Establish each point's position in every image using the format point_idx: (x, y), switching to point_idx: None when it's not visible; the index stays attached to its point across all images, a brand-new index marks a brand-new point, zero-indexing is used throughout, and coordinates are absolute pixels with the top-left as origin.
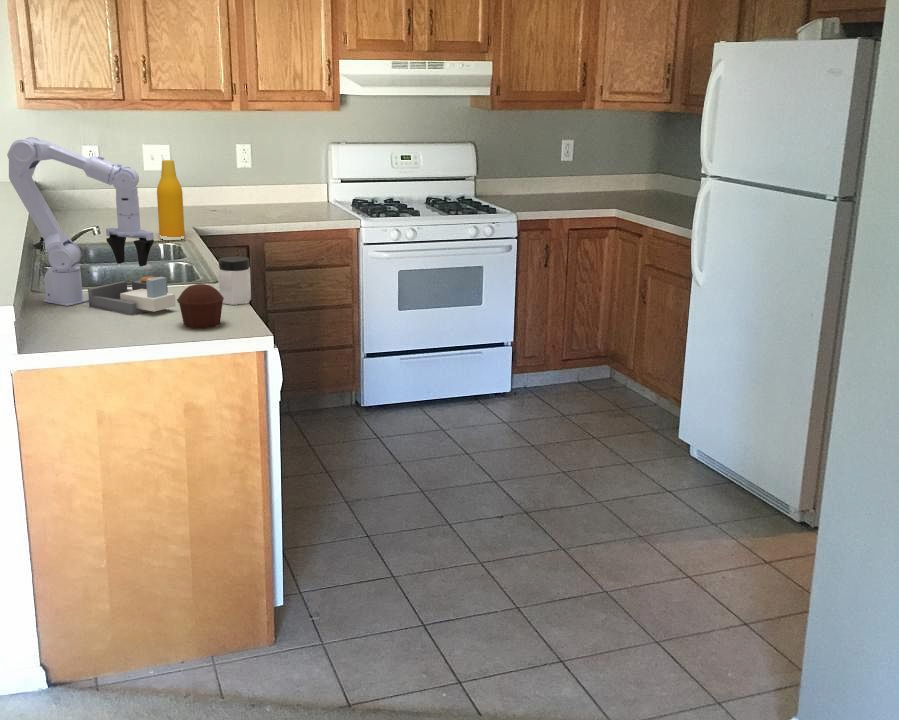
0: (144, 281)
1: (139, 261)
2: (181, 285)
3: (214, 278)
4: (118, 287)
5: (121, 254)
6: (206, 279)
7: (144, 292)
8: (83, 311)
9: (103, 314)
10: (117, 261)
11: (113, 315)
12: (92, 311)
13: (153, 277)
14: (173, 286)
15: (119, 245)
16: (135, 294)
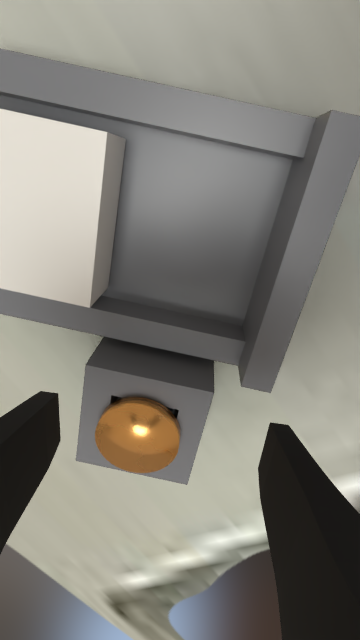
0: (138, 399)
1: (25, 410)
2: (186, 560)
3: (153, 636)
4: (255, 323)
5: (276, 515)
6: (166, 625)
7: (5, 225)
8: (307, 16)
9: (156, 2)
10: (284, 432)
11: (91, 8)
12: (257, 43)
13: (126, 456)
14: (202, 545)
15: (307, 614)
16: (7, 152)
